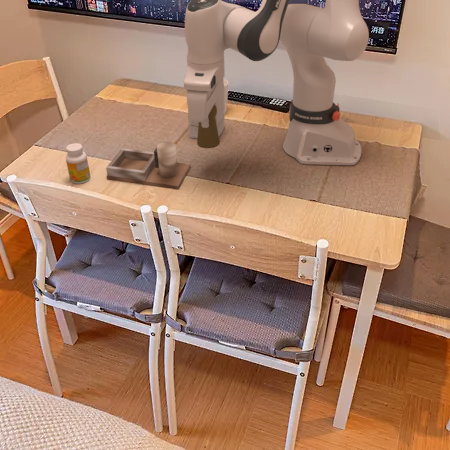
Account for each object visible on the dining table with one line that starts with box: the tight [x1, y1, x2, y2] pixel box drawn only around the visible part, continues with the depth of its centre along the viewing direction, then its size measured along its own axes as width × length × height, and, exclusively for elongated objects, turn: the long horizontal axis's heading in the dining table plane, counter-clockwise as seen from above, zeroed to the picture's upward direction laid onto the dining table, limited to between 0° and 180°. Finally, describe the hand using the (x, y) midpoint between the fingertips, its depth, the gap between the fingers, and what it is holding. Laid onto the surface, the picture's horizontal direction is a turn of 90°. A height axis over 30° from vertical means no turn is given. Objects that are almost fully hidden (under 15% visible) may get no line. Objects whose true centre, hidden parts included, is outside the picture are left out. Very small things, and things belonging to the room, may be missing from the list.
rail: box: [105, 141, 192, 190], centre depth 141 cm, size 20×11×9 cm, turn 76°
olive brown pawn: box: [196, 104, 221, 149], centre depth 136 cm, size 6×6×11 cm
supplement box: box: [187, 86, 225, 139], centre depth 157 cm, size 9×9×15 cm
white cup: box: [223, 78, 229, 115], centre depth 170 cm, size 8×8×10 cm
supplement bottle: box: [65, 142, 91, 185], centre depth 138 cm, size 5×5×10 cm
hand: (208, 121), depth 136 cm, fingers closed on olive brown pawn, 4 cm apart
